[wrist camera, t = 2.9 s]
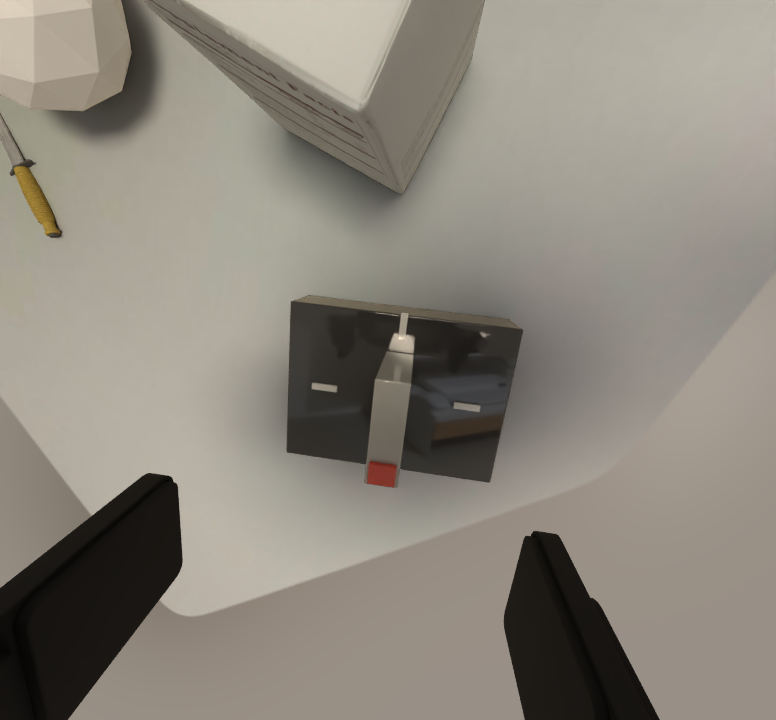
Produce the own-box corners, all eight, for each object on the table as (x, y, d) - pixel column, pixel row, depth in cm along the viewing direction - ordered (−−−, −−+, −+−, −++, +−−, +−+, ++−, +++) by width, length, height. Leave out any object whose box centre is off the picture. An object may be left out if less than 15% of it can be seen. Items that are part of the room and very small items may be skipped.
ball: (136, 32, 21) (68, -188, 14) (162, 153, 20) (104, -14, 13) (-38, 14, 18) (-241, -275, 11) (-17, 154, 17) (-225, -60, 10)
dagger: (-59, 51, 20) (-42, 30, 19) (-36, 59, 21) (-19, 39, 20) (36, 242, 22) (55, 229, 21) (54, 242, 23) (72, 230, 22)
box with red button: (385, 350, 19) (374, 380, 14) (414, 354, 19) (411, 385, 14) (376, 435, 20) (363, 487, 16) (403, 439, 20) (396, 492, 16)
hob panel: (510, 317, 21) (525, 328, 18) (481, 456, 23) (490, 486, 20) (308, 293, 22) (289, 299, 19) (302, 430, 24) (284, 455, 21)
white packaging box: (342, -27, 17) (149, -697, 5) (476, 57, 18) (591, -379, 5) (280, 130, 19) (41, -79, 7) (400, 201, 20) (364, 116, 8)
